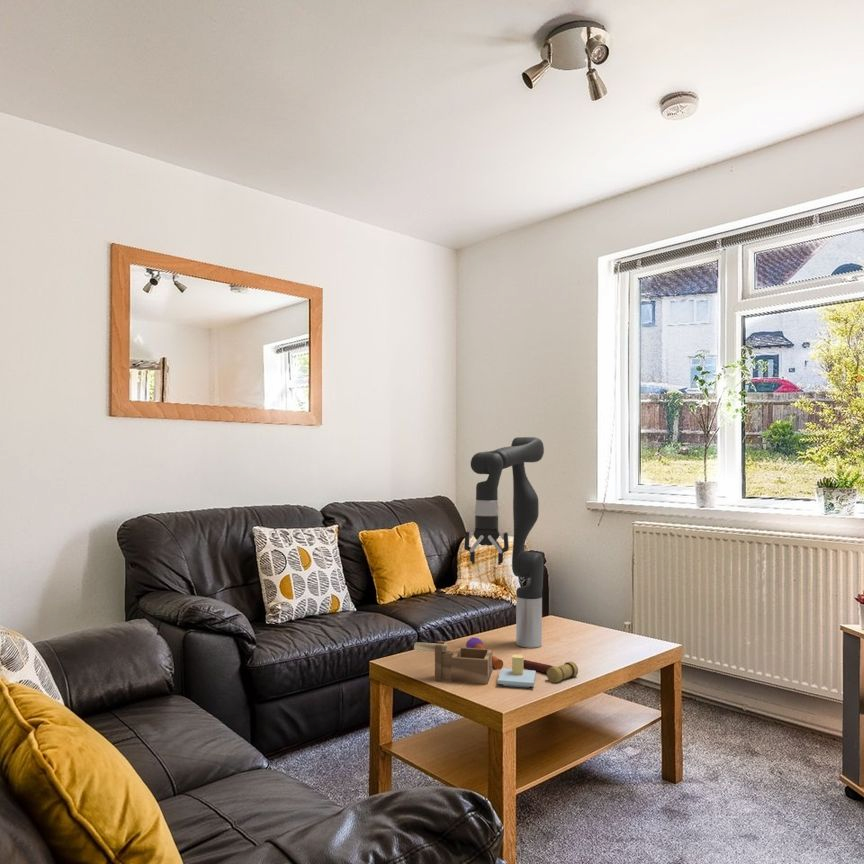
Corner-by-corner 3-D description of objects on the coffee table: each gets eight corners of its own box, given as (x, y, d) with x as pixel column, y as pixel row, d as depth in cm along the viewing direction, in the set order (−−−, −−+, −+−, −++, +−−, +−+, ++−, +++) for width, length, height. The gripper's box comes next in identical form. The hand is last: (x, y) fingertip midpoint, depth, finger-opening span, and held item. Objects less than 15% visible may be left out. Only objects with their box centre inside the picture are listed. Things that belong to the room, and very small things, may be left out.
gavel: (506, 657, 217) (526, 652, 224) (506, 672, 217) (526, 666, 223) (558, 669, 202) (578, 662, 208) (558, 684, 201) (578, 677, 208)
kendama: (489, 658, 214) (462, 637, 232) (491, 676, 214) (464, 654, 233) (505, 653, 216) (477, 633, 234) (507, 670, 217) (479, 649, 235)
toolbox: (442, 668, 215) (442, 634, 216) (492, 671, 212) (492, 637, 213) (434, 680, 203) (434, 645, 204) (487, 684, 200) (487, 648, 200)
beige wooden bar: (415, 648, 208) (415, 642, 209) (447, 650, 206) (447, 644, 206) (414, 650, 206) (414, 644, 206) (446, 652, 204) (446, 646, 204)
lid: (501, 675, 209) (501, 652, 210) (535, 677, 207) (535, 654, 208) (497, 687, 198) (497, 663, 198) (533, 690, 196) (533, 665, 196)
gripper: (509, 513, 221) (509, 563, 220) (466, 512, 224) (466, 561, 223) (507, 515, 213) (507, 566, 213) (463, 514, 216) (462, 565, 216)
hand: (486, 564), depth 218 cm, fingers open, 8 cm apart
